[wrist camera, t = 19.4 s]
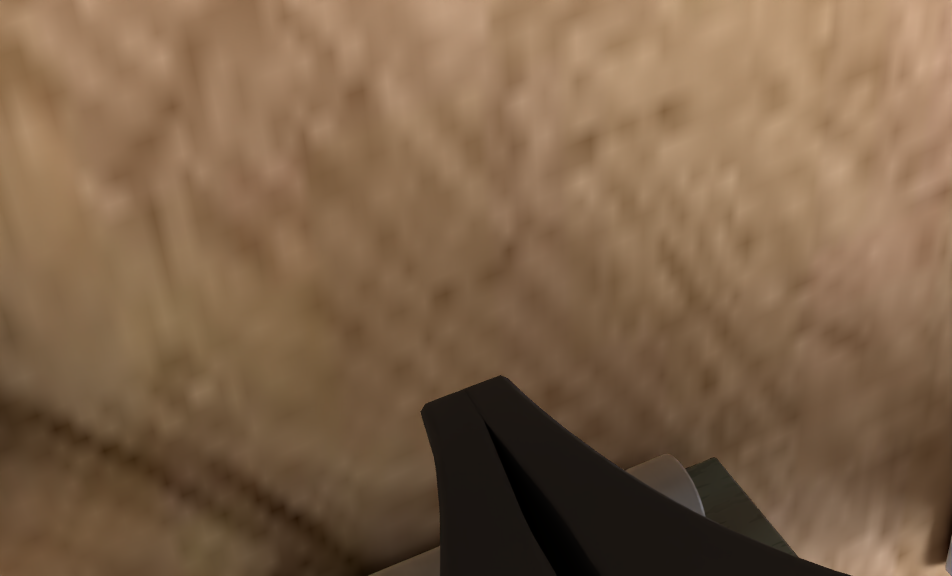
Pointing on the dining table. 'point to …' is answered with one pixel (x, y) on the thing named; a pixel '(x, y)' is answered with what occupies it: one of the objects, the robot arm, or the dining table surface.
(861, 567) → the dining table surface
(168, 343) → the dining table surface
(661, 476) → the drawer
